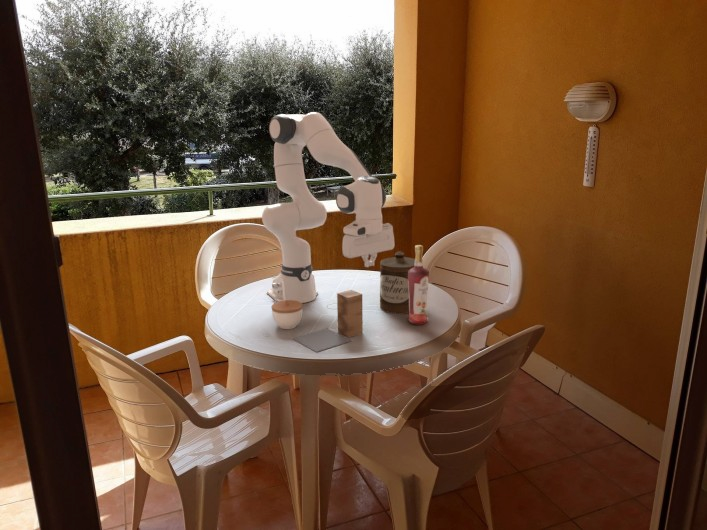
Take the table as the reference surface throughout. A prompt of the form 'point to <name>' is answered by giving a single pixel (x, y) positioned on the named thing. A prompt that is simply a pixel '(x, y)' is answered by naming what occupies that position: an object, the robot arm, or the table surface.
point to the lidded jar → (287, 313)
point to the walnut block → (349, 313)
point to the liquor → (418, 289)
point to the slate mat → (321, 340)
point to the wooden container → (395, 283)
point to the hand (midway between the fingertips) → (369, 266)
